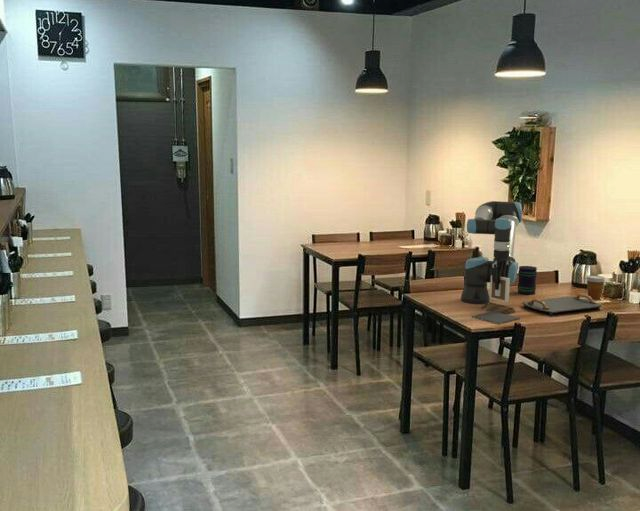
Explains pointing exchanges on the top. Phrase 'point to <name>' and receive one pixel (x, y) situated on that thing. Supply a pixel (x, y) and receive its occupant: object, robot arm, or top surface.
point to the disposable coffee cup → (595, 286)
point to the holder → (498, 308)
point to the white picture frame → (504, 290)
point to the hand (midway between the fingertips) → (499, 295)
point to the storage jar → (527, 280)
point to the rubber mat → (496, 317)
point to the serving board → (562, 304)
